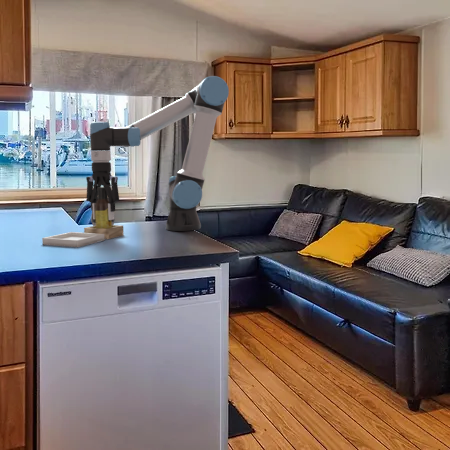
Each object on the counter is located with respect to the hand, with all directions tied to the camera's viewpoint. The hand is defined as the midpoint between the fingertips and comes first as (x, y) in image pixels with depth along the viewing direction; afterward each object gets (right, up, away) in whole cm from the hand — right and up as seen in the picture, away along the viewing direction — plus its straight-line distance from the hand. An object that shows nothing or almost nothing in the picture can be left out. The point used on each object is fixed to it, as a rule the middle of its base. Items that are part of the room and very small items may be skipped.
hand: (103, 219), depth 215 cm
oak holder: (0, -7, +1) cm, 7 cm away
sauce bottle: (0, -7, +1) cm, 7 cm away
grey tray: (-8, -9, -13) cm, 18 cm away
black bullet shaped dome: (-5, -4, +22) cm, 23 cm away
